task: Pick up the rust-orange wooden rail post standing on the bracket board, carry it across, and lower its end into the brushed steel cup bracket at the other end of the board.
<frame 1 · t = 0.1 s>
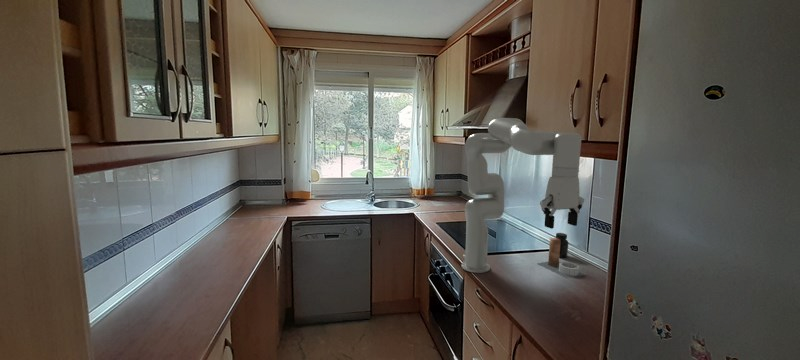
hand: (560, 226, 111), 31 cm above the worktop, tool pointing down, fingers open, 9 cm apart
rail post: (553, 264, 159), point 1 cm above the worktop, touching bracket board
supplement bottle: (559, 258, 171), on the worktop
bracket board: (561, 270, 155), on the worktop
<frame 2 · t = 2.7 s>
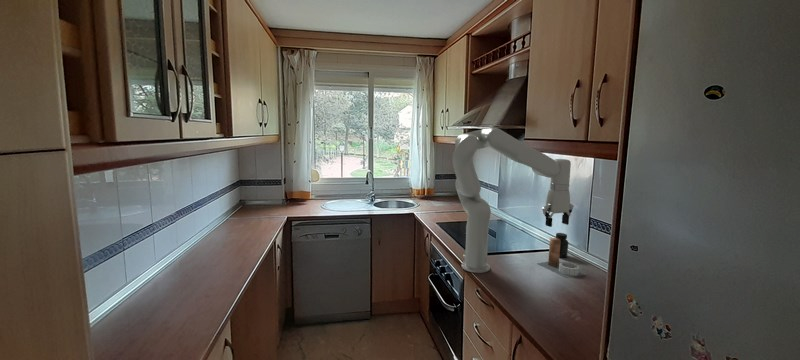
hand: (556, 225, 156), 20 cm above the worktop, tool pointing down, fingers open, 9 cm apart
nothing on the worktop moved.
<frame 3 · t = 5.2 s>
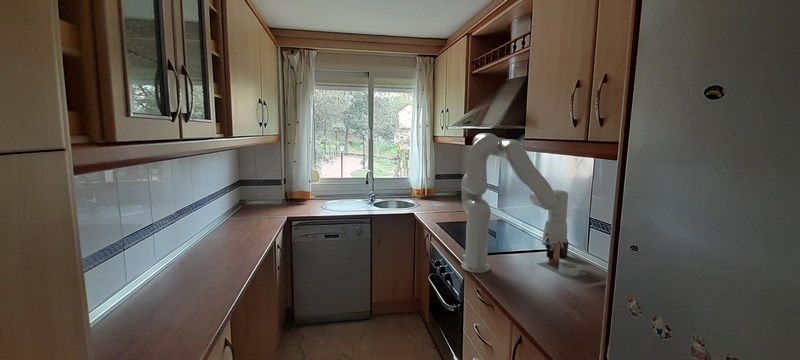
hand: (553, 256, 158), 5 cm above the worktop, tool pointing down, fingers closed on rail post, 4 cm apart
rail post: (553, 264, 159), point 1 cm above the worktop, touching bracket board, gripper
everything else where it was.
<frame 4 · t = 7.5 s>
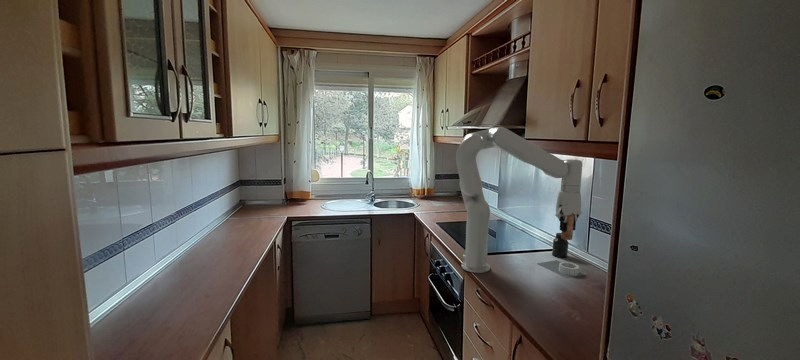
hand: (567, 229, 151), 19 cm above the worktop, tool pointing down, fingers closed on rail post, 4 cm apart
rail post: (566, 238, 151), point 15 cm above the worktop, touching gripper
everything else where it was.
when the fingers open (6 cm above the worktop, at t = 10.0 s): rail post stays where it is, resting on bracket board.
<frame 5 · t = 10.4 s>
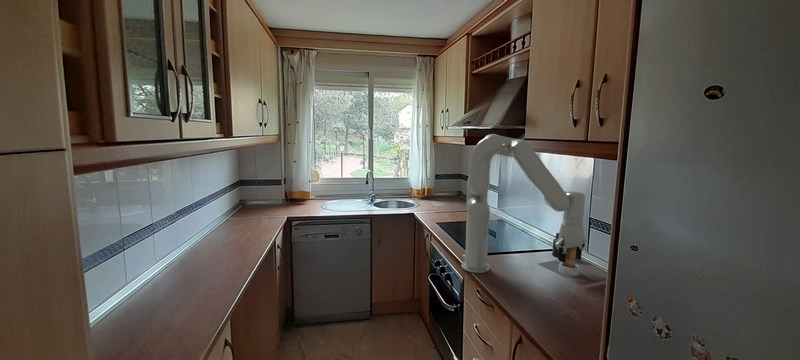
hand: (569, 260, 150), 6 cm above the worktop, tool pointing down, fingers open, 8 cm apart
rail post: (568, 271, 151), point 1 cm above the worktop, touching bracket board
everything else where it was.
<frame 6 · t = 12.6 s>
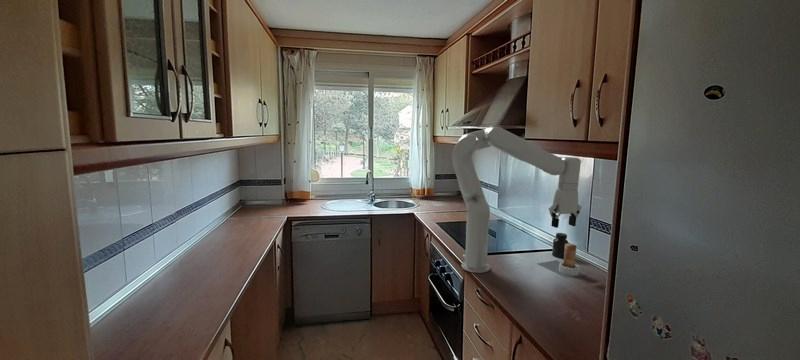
hand: (563, 226, 149), 21 cm above the worktop, tool pointing down, fingers open, 9 cm apart
nothing on the worktop moved.
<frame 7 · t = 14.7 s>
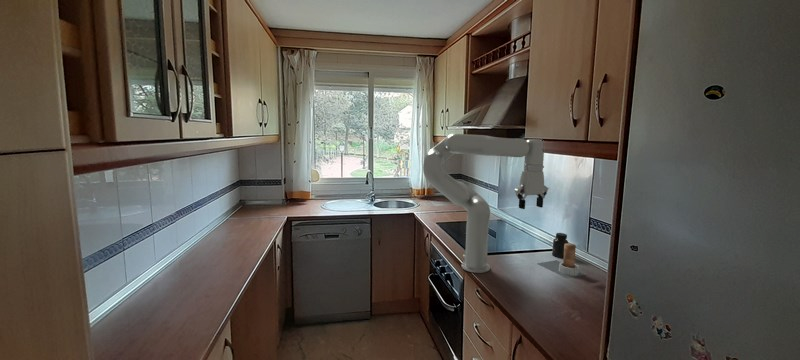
hand: (530, 207, 151), 28 cm above the worktop, tool pointing down, fingers open, 9 cm apart
nothing on the worktop moved.
at the end: rail post 0.1 cm from the target spot on the bracket board, point 1.0 cm above the bracket board's base; rail post tilted 1°; the gripper is holding nothing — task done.
